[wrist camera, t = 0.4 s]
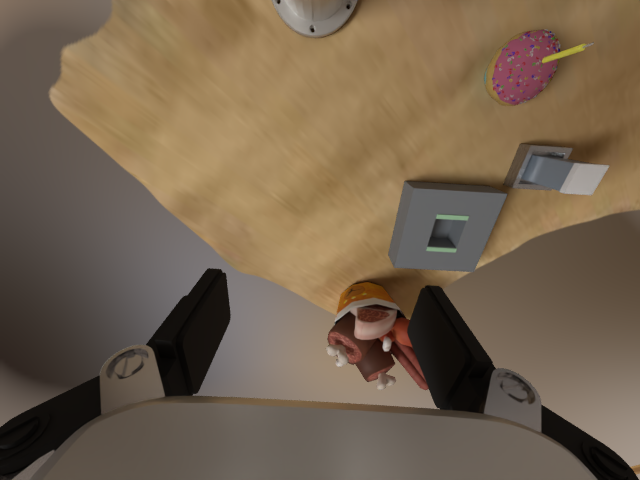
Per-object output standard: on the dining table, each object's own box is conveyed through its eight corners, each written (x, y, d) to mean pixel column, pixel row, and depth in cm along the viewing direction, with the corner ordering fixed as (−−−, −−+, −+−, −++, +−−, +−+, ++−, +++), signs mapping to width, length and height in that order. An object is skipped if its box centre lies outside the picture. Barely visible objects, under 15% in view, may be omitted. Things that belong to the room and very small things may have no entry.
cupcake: (517, 23, 34) (606, -18, 23) (538, 77, 37) (625, 62, 26) (461, 72, 37) (518, 54, 26) (484, 118, 40) (544, 120, 29)
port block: (404, 180, 44) (414, 188, 40) (489, 186, 45) (508, 194, 40) (388, 254, 52) (394, 268, 47) (460, 258, 52) (474, 272, 48)
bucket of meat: (319, 320, 61) (319, 403, 43) (330, 266, 53) (334, 341, 36) (395, 328, 62) (425, 412, 45) (416, 277, 55) (461, 354, 37)
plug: (527, 153, 42) (580, 163, 33) (550, 155, 42) (609, 165, 33) (516, 177, 43) (563, 193, 35) (539, 179, 44) (591, 195, 35)
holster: (520, 143, 41) (530, 145, 39) (560, 146, 42) (573, 148, 39) (503, 184, 45) (512, 188, 43) (540, 186, 45) (551, 190, 43)
